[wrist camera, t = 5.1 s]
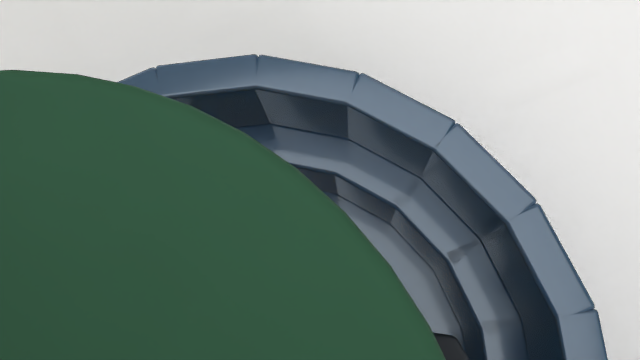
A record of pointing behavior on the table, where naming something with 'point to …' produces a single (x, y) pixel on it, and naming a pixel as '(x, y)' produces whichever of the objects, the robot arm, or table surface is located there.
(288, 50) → the table surface
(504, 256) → the bowl
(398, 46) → the table surface
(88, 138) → the green-capped yellow cylinder
